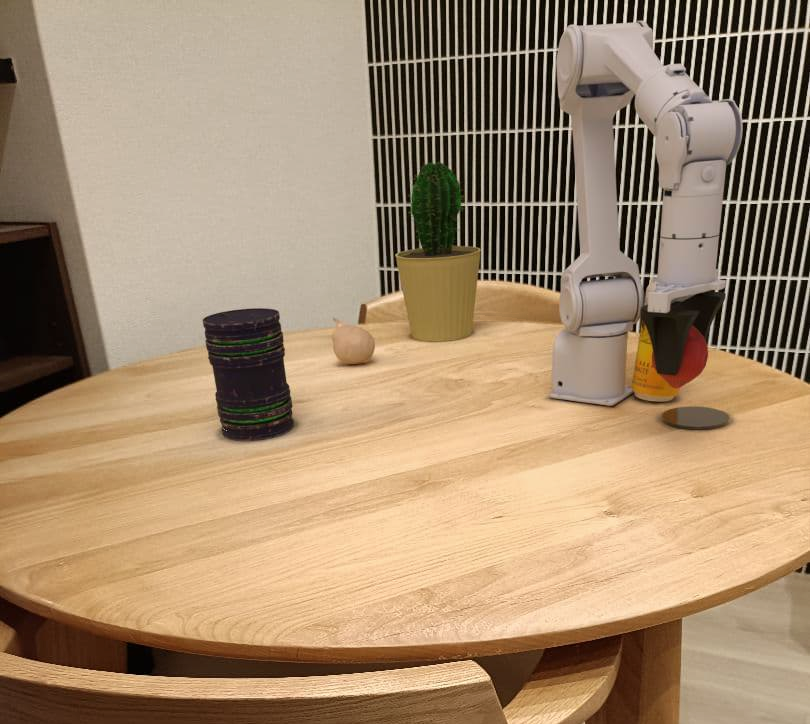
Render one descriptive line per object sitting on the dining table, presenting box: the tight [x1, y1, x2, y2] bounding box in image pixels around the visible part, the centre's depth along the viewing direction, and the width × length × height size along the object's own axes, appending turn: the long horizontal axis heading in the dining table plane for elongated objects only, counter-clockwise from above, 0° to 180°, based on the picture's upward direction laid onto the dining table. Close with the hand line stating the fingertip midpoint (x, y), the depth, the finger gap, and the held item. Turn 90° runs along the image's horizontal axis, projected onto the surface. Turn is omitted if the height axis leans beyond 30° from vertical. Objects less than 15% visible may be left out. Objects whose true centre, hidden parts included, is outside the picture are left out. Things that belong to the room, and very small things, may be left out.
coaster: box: [661, 405, 731, 431], centre depth 102 cm, size 8×8×1 cm
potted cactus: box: [395, 159, 482, 342], centre depth 147 cm, size 15×15×30 cm
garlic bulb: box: [331, 316, 376, 365], centre depth 136 cm, size 7×6×8 cm
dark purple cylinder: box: [202, 307, 295, 442], centre depth 107 cm, size 10×10×15 cm
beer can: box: [631, 277, 680, 403], centre depth 107 cm, size 6×6×15 cm
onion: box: [652, 325, 709, 389], centre depth 89 cm, size 6×6×8 cm
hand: (678, 366), depth 90 cm, fingers closed on onion, 6 cm apart
